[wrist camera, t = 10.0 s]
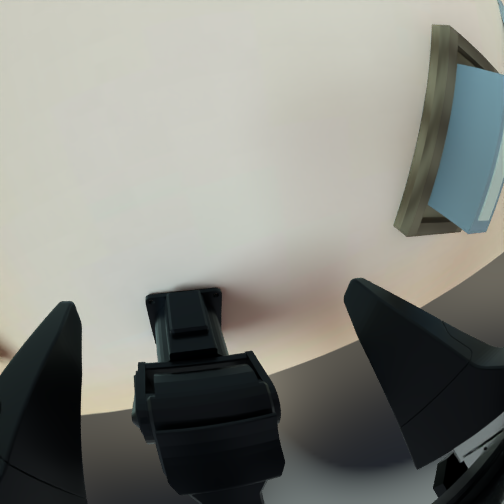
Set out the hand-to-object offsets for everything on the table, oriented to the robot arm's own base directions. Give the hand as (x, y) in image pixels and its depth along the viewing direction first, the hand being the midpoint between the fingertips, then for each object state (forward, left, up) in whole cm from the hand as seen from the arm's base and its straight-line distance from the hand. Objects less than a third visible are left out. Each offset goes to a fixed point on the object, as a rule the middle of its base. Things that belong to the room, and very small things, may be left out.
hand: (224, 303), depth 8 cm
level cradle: (+6, -26, -12) cm, 29 cm away
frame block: (+6, -26, -11) cm, 29 cm away
